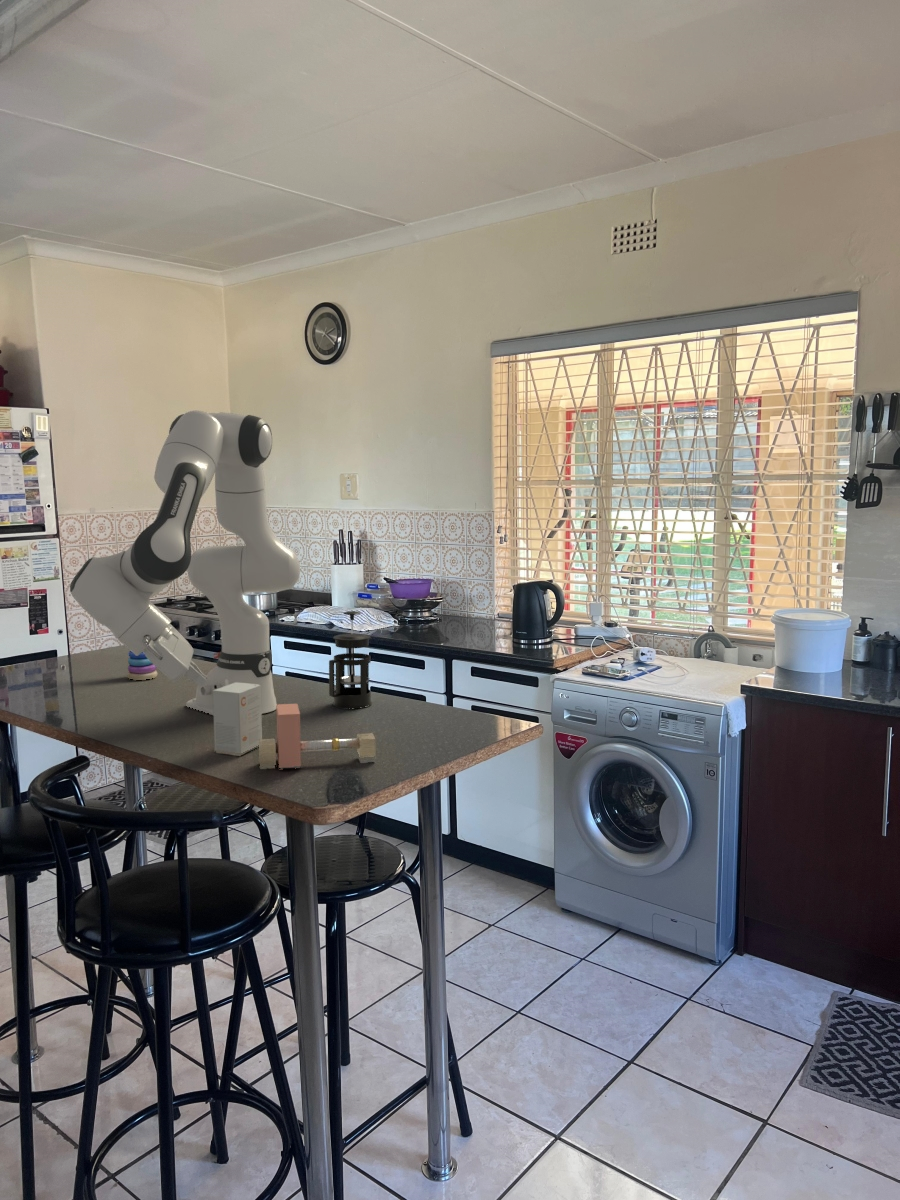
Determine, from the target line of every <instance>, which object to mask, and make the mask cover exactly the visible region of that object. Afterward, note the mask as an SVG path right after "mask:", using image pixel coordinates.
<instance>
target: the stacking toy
mask: <svg viewBox="0 0 900 1200" xmlns="http://www.w3.org/2000/svg"><path fill="white" fill-rule="evenodd" d="M128 657H129V658H128V659H127V662H128V667H127V670H128V672H127V673H126V676H127V677H126V678H127V679H128V678H129V679H128V680H130V679H134V680H133V681H136V680H142V681H147V680H146V679H150V680H152V678H153V679H155V678H157V676H158V671H157V669H158V668H157V667H156V666H155V665H154V664H152V663H151V662H150V660H149V659H148V658H147V657H146V656H145V653H143V652H142V653H141V654H140V655H138V656H136V655H135V654H134V653H133V652H131V651H130V650H129V651H128Z"/></svg>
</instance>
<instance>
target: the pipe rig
mask: <svg viewBox="0 0 900 1200" xmlns="http://www.w3.org/2000/svg"><path fill="white" fill-rule="evenodd" d="M300 749H301V752H303V753H304V752H319V751H322V752H323V751H332V752H337V751H338V752H339V751H341V750H357V751H356V752H358V754H359V757H360V758H364V757H374V756H375V757H376V737H375V735H374V734H373V732H371V733H370V732H369V733H357V735H356V737H354V738H351V737H350V738H338V737H333V738H332V739H317V740H300ZM277 753H278V743H277V742H276V739H275V738H262V739H259V748H258V761H259V762H258V763H260V766H265V765H276V766H277ZM260 766H259V767H260Z"/></svg>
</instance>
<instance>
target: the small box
mask: <svg viewBox="0 0 900 1200" xmlns="http://www.w3.org/2000/svg"><path fill="white" fill-rule="evenodd" d="M212 716H213V735H214V736H213V738H214V740H213V741H214V744H213V745H214V751H215V750H221V751H228V752H235V753H243V752H245V751H247V750H250V749H252V748H254V747H256V746H258V745H259V739H263V728H262V727H263V726H262V725H263V724H262V723H263V722H262V721H263V720H262V719H263V718H262V717H263V716H262V714H261V685H257V684H249V683H237V682H235V683H233V684H230V685H227V686H224V687H221V688H219V689H216V690H213V715H212Z"/></svg>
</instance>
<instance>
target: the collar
mask: <svg viewBox="0 0 900 1200" xmlns="http://www.w3.org/2000/svg"><path fill="white" fill-rule="evenodd" d="M275 710H276V743H278V753H276V759H277V758H278V759H277V764H279V765H278V769H279V768H281V767H294V766H302V764H301V759H302V757H301V756H302V755H301V749H300V741H301V711H300V709H299V705H298V703H283V704H282V703H280V704H279V703H277V705H276V709H275Z"/></svg>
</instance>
